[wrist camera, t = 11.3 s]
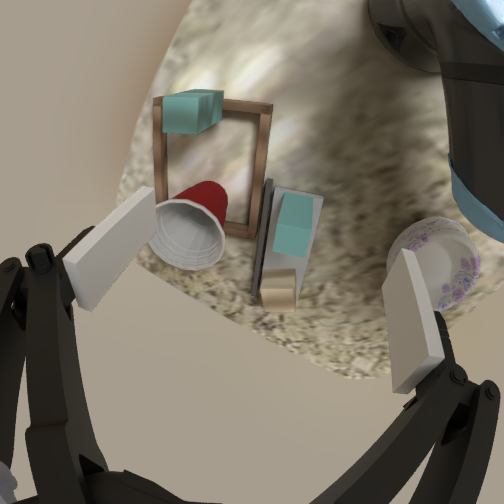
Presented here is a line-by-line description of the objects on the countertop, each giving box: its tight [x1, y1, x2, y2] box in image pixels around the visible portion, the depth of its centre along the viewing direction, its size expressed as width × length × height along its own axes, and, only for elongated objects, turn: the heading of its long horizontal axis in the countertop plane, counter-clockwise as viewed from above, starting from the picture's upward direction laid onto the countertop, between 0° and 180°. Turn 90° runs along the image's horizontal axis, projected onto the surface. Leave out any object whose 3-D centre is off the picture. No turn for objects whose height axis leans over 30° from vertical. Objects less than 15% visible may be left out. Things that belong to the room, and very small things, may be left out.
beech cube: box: [260, 269, 297, 312], centre depth 48 cm, size 5×5×5 cm
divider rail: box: [251, 178, 273, 296], centre depth 48 cm, size 22×1×2 cm, turn 175°
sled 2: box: [259, 187, 324, 301], centre depth 44 cm, size 20×7×10 cm, turn 175°
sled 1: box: [153, 89, 273, 240], centre depth 37 cm, size 22×16×11 cm
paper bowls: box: [386, 216, 480, 312], centre depth 40 cm, size 15×15×8 cm
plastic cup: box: [148, 181, 228, 271], centre depth 41 cm, size 11×11×12 cm
